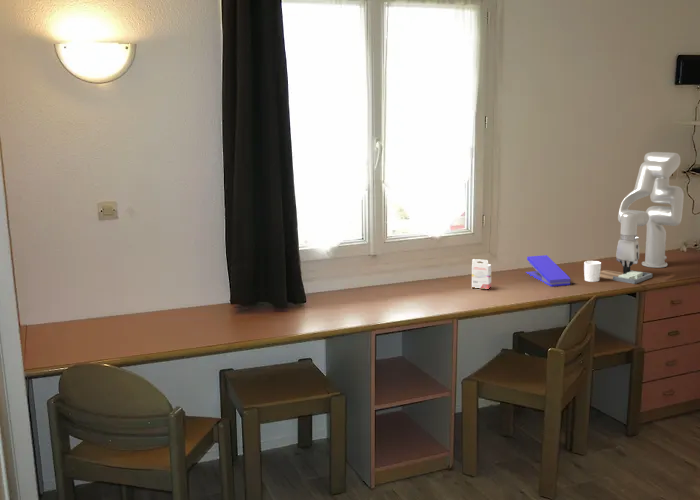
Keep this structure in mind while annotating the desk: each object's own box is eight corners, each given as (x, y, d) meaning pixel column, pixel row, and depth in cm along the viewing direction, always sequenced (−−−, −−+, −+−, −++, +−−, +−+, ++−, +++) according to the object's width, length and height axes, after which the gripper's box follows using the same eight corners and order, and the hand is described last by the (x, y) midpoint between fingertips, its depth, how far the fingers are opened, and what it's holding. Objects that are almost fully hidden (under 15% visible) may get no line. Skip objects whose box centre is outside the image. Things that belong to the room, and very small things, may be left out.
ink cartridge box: (491, 288, 349) (491, 258, 346) (488, 290, 344) (488, 260, 341) (474, 286, 353) (474, 256, 350) (471, 288, 348) (471, 259, 345)
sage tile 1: (624, 279, 354) (624, 273, 354) (634, 281, 350) (634, 275, 350) (618, 281, 351) (618, 275, 350) (628, 283, 347) (629, 277, 346)
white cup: (597, 285, 348) (598, 264, 346) (581, 283, 352) (581, 263, 350) (602, 281, 354) (603, 261, 352) (586, 279, 358) (587, 260, 356)
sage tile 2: (631, 276, 360) (632, 270, 359) (642, 278, 356) (642, 272, 355) (626, 278, 356) (626, 272, 356) (636, 280, 352) (637, 274, 352)
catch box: (630, 275, 363) (630, 270, 362) (652, 279, 355) (652, 273, 354) (612, 282, 352) (613, 276, 351) (635, 286, 343) (635, 280, 343)
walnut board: (604, 272, 372) (604, 269, 372) (629, 276, 362) (629, 273, 362) (588, 277, 362) (588, 275, 362) (613, 282, 352) (613, 279, 352)
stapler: (544, 272, 376) (545, 254, 374) (571, 285, 349) (572, 265, 347) (524, 274, 374) (524, 256, 372) (550, 287, 347) (550, 267, 345)
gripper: (646, 238, 352) (644, 275, 356) (617, 234, 363) (616, 270, 367) (639, 240, 348) (637, 277, 351) (610, 237, 358) (608, 273, 362)
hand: (626, 273), depth 359 cm, fingers closed
